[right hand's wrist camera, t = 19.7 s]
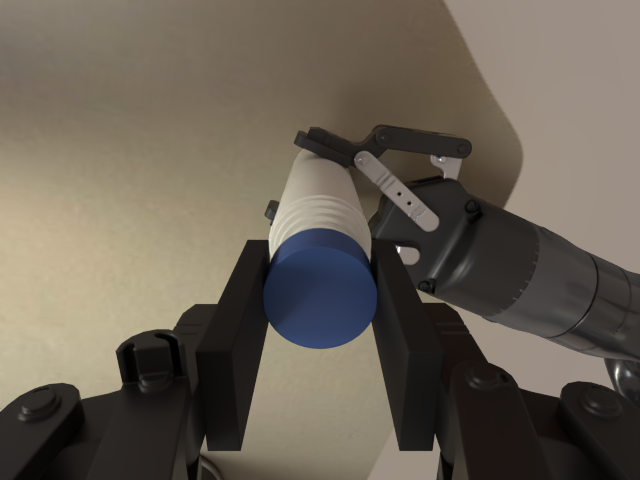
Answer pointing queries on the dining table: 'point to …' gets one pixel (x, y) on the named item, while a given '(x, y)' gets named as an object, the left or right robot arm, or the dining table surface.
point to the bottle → (319, 202)
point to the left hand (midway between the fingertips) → (282, 173)
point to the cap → (320, 289)
